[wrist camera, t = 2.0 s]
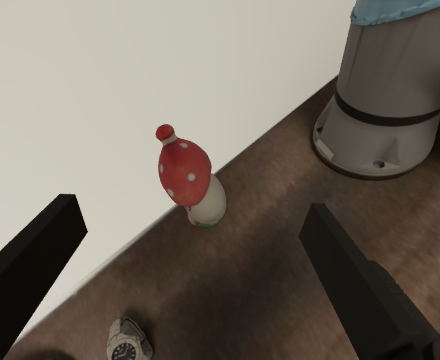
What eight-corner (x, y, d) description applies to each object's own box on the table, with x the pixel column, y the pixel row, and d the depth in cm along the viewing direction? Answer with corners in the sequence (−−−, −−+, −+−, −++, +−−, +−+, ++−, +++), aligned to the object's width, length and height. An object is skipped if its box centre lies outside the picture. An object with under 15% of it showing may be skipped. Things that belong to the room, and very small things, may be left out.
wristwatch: (142, 375, 24) (114, 388, 20) (118, 329, 27) (89, 333, 23) (164, 348, 25) (141, 355, 21) (138, 307, 28) (114, 306, 24)
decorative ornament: (191, 184, 37) (146, 120, 25) (227, 178, 36) (198, 107, 23) (188, 235, 32) (130, 187, 20) (230, 230, 31) (196, 176, 18)
